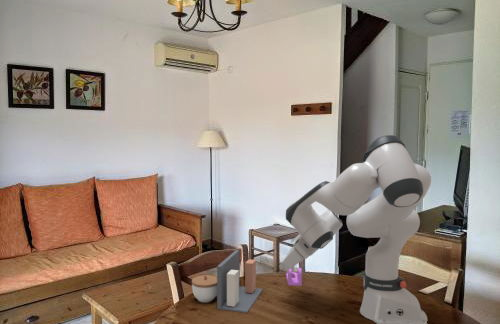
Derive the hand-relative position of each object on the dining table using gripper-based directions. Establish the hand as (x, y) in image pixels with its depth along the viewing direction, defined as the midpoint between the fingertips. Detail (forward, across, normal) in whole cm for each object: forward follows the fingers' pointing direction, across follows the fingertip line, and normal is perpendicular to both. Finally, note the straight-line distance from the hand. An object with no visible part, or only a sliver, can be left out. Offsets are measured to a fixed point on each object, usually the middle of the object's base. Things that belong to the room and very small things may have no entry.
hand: (281, 266), depth 155 cm
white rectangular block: (+20, +12, -2) cm, 23 cm away
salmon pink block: (+18, -2, 0) cm, 19 cm away
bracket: (+9, -22, +10) cm, 26 cm away
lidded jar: (+29, +9, -11) cm, 32 cm away
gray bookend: (+20, +4, -1) cm, 20 cm away
